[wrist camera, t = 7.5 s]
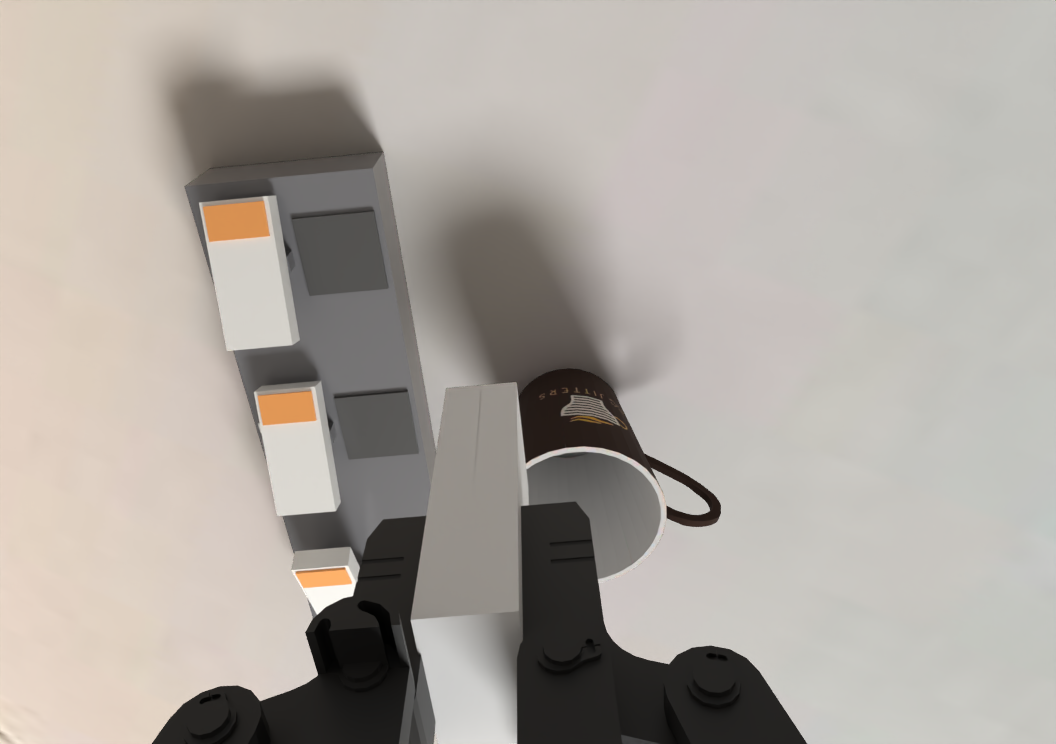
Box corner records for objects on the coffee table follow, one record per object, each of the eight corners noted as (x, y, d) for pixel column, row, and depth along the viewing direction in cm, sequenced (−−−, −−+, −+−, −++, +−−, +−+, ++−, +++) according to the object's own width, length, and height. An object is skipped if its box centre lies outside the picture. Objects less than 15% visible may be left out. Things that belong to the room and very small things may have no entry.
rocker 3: (294, 551, 45) (290, 572, 44) (350, 546, 45) (347, 567, 44) (327, 609, 50) (324, 629, 49) (377, 605, 50) (375, 625, 49)
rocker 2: (261, 385, 42) (252, 392, 41) (320, 380, 42) (314, 387, 40) (283, 507, 44) (276, 517, 42) (340, 502, 44) (334, 512, 42)
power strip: (209, 168, 40) (177, 191, 36) (383, 151, 40) (369, 172, 36) (348, 664, 57) (336, 715, 53) (471, 654, 57) (468, 705, 53)
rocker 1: (209, 201, 37) (197, 202, 36) (275, 195, 37) (266, 196, 36) (235, 345, 39) (225, 351, 38) (299, 340, 39) (291, 345, 38)
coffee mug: (467, 426, 48) (457, 533, 39) (556, 324, 45) (566, 414, 36) (612, 518, 51) (632, 635, 43) (703, 429, 48) (746, 535, 39)
